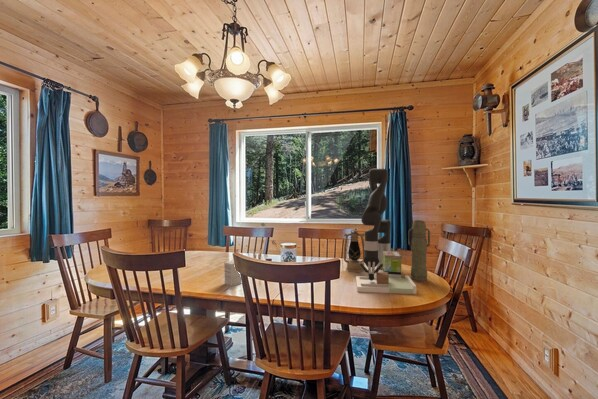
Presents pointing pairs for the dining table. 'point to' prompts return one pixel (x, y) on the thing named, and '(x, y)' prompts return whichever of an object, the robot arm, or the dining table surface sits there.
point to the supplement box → (231, 274)
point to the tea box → (392, 263)
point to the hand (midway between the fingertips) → (371, 280)
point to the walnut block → (382, 278)
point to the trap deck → (386, 285)
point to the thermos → (419, 250)
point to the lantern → (354, 252)
